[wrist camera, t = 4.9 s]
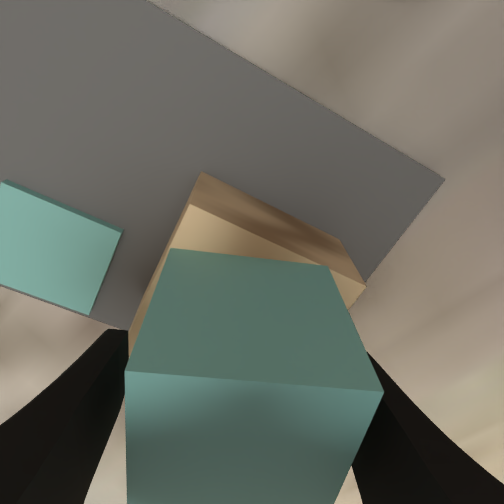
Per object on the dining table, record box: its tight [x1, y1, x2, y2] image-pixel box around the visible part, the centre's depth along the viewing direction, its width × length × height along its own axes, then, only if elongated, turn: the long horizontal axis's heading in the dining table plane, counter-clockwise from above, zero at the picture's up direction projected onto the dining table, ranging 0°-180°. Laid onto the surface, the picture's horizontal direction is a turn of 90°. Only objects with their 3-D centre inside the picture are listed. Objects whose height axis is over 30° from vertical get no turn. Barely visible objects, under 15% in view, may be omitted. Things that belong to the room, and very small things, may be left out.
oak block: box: [128, 171, 367, 357], centre depth 15 cm, size 7×7×4 cm
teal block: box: [125, 248, 384, 504], centre depth 11 cm, size 6×6×6 cm
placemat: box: [0, 0, 445, 332], centre depth 16 cm, size 18×14×1 cm
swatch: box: [0, 179, 124, 315], centre depth 16 cm, size 5×5×1 cm
